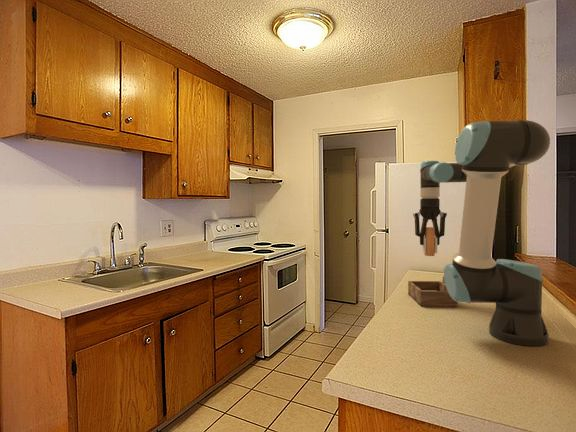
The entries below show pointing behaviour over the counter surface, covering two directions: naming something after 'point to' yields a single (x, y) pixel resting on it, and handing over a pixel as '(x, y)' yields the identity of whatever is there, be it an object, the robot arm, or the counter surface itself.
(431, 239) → the peg
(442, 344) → the counter surface
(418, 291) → the crate
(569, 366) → the counter surface
